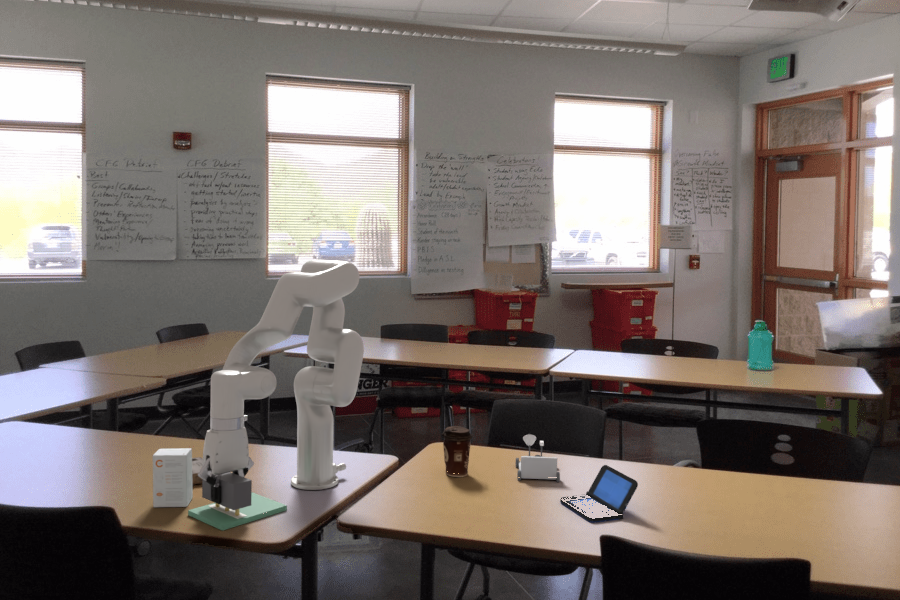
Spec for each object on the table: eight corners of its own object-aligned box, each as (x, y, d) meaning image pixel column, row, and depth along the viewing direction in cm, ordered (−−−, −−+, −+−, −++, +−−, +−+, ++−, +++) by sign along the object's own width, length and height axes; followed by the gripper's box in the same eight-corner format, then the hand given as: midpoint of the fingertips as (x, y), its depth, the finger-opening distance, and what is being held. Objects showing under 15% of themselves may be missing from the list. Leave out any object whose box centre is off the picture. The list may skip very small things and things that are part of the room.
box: (176, 487, 202) (177, 475, 202) (162, 471, 217) (162, 460, 216) (218, 482, 208) (218, 470, 207) (201, 466, 222) (201, 456, 222)
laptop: (557, 503, 198) (559, 467, 198) (602, 497, 203) (604, 463, 203) (590, 524, 184) (592, 486, 183) (638, 518, 189) (639, 481, 188)
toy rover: (516, 431, 232) (554, 433, 231) (515, 463, 233) (553, 465, 232) (518, 447, 214) (560, 449, 213) (517, 482, 215) (559, 484, 214)
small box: (193, 498, 194) (192, 447, 193) (186, 507, 188) (186, 454, 187) (159, 498, 194) (159, 447, 193) (152, 507, 187) (152, 455, 186)
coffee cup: (437, 476, 217) (438, 431, 216) (444, 468, 225) (445, 424, 224) (467, 479, 215) (469, 433, 214) (474, 471, 223) (475, 426, 222)
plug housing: (219, 492, 189) (219, 468, 188) (251, 505, 180) (251, 480, 180) (202, 497, 185) (202, 472, 184) (233, 510, 177) (233, 484, 176)
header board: (252, 496, 197) (252, 480, 196) (286, 510, 188) (286, 493, 187) (188, 515, 183) (188, 497, 183) (222, 530, 174) (222, 512, 174)
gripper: (248, 415, 190) (247, 488, 191) (185, 426, 177) (185, 504, 178) (266, 420, 185) (265, 495, 187) (204, 432, 172) (203, 512, 174)
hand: (226, 498), depth 183 cm, fingers closed on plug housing, 4 cm apart
